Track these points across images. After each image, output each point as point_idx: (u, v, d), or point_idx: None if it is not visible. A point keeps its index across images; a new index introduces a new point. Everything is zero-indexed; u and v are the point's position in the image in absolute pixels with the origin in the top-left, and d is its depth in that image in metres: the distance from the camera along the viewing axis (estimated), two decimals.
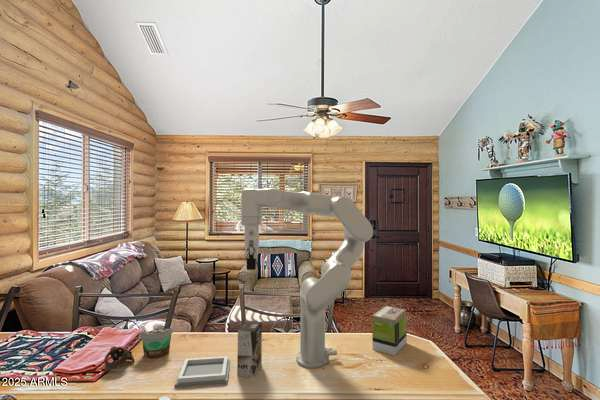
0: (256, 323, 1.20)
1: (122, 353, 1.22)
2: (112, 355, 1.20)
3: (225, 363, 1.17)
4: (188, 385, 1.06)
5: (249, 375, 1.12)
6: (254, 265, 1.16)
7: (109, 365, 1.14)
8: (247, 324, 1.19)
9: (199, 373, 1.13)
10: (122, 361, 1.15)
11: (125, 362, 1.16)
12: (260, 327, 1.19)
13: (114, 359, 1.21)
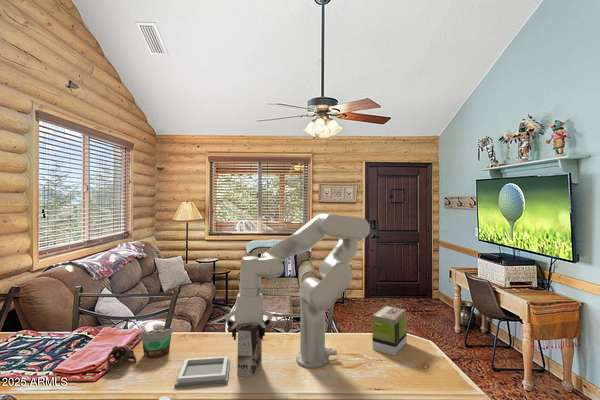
0: (256, 323, 1.20)
1: (124, 353, 1.22)
2: (114, 355, 1.20)
3: (225, 363, 1.17)
4: (188, 385, 1.06)
5: (249, 375, 1.12)
6: None
7: (111, 364, 1.14)
8: (247, 324, 1.19)
9: (199, 373, 1.13)
10: (124, 360, 1.15)
11: (127, 361, 1.16)
12: (260, 327, 1.19)
13: (116, 359, 1.21)
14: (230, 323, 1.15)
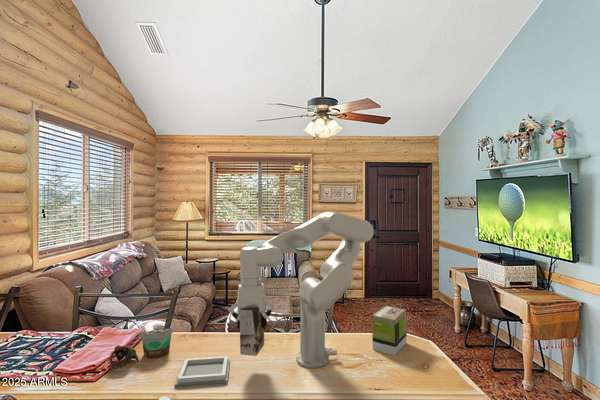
0: None
1: (126, 352, 1.23)
2: (116, 354, 1.21)
3: (225, 363, 1.17)
4: (188, 385, 1.06)
5: (252, 354, 1.13)
6: None
7: (114, 364, 1.14)
8: None
9: (199, 373, 1.13)
10: (127, 360, 1.16)
11: (130, 361, 1.16)
12: None
13: (118, 358, 1.22)
14: (235, 315, 1.15)
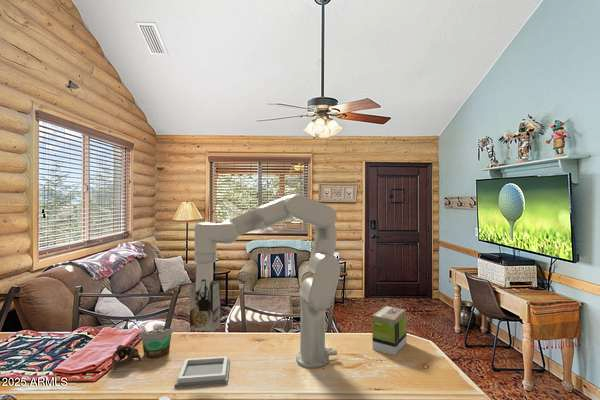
0: None
1: (128, 351, 1.23)
2: (119, 354, 1.21)
3: (225, 363, 1.17)
4: (188, 385, 1.06)
5: (219, 325, 1.15)
6: None
7: (117, 363, 1.15)
8: None
9: (199, 373, 1.13)
10: (130, 359, 1.16)
11: (132, 360, 1.17)
12: None
13: (121, 357, 1.22)
14: (205, 295, 1.09)
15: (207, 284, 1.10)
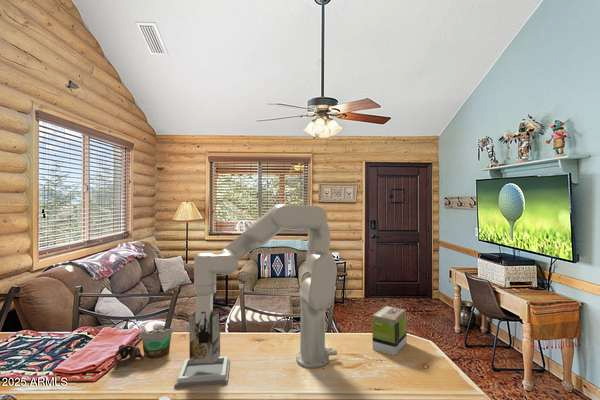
0: None
1: (130, 351, 1.24)
2: (121, 353, 1.22)
3: (225, 363, 1.17)
4: (188, 385, 1.06)
5: (218, 355, 1.15)
6: None
7: (119, 363, 1.15)
8: None
9: (199, 373, 1.13)
10: (132, 359, 1.17)
11: (135, 359, 1.17)
12: None
13: (123, 357, 1.23)
14: (205, 327, 1.09)
15: (207, 316, 1.10)
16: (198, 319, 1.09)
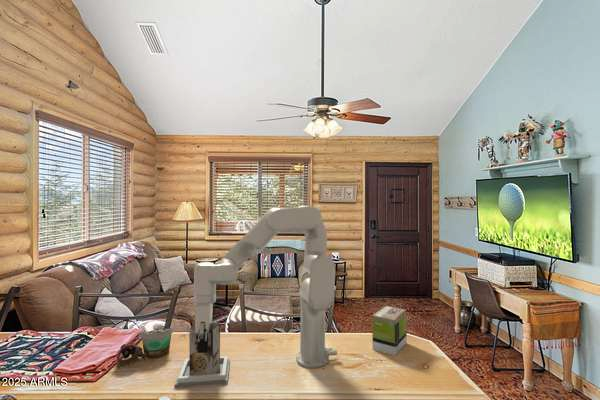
0: None
1: (132, 350, 1.24)
2: (123, 353, 1.22)
3: (225, 363, 1.17)
4: (188, 385, 1.06)
5: (218, 367, 1.15)
6: None
7: (122, 362, 1.16)
8: None
9: None
10: (134, 358, 1.17)
11: (137, 359, 1.18)
12: None
13: (125, 356, 1.23)
14: (204, 337, 1.08)
15: (206, 325, 1.10)
16: (198, 328, 1.09)
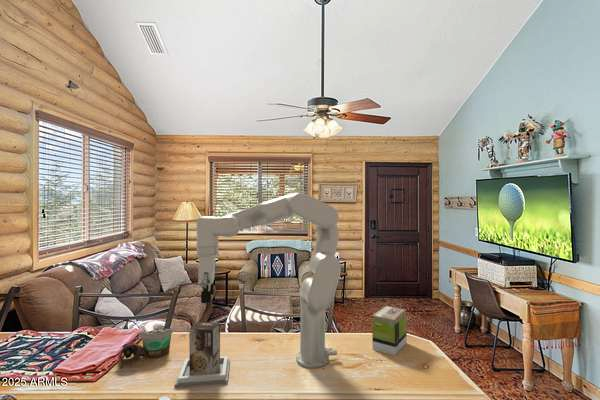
0: (198, 323, 1.16)
1: (134, 350, 1.25)
2: (125, 352, 1.22)
3: (225, 363, 1.17)
4: (188, 385, 1.06)
5: (218, 367, 1.15)
6: None
7: (124, 361, 1.16)
8: (198, 327, 1.13)
9: None
10: (137, 357, 1.18)
11: (139, 358, 1.18)
12: None
13: (127, 356, 1.23)
14: (208, 287, 1.09)
15: (209, 276, 1.11)
16: (201, 278, 1.10)
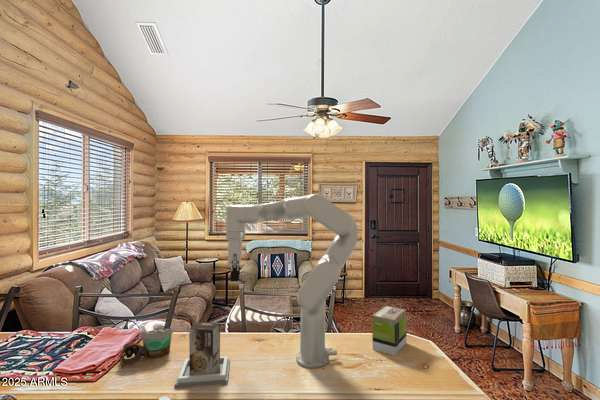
0: (198, 323, 1.16)
1: (135, 350, 1.25)
2: (126, 352, 1.23)
3: (225, 363, 1.17)
4: (188, 385, 1.06)
5: (218, 367, 1.15)
6: None
7: (125, 361, 1.16)
8: (198, 327, 1.13)
9: None
10: (138, 357, 1.18)
11: (141, 358, 1.19)
12: None
13: (128, 356, 1.24)
14: None
15: (238, 257, 1.25)
16: (230, 259, 1.25)
